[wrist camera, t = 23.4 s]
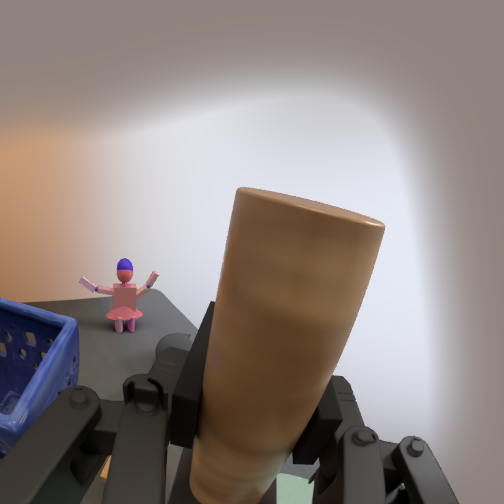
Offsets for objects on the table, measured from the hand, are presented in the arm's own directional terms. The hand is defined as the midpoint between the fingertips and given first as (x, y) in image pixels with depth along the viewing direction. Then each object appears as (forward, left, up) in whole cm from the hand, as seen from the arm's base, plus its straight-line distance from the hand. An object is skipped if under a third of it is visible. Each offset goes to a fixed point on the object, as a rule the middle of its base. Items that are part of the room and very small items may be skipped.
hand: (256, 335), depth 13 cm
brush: (-2, +5, -9) cm, 10 cm away
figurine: (+24, -15, -18) cm, 34 cm away
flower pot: (+17, +8, -18) cm, 26 cm away
